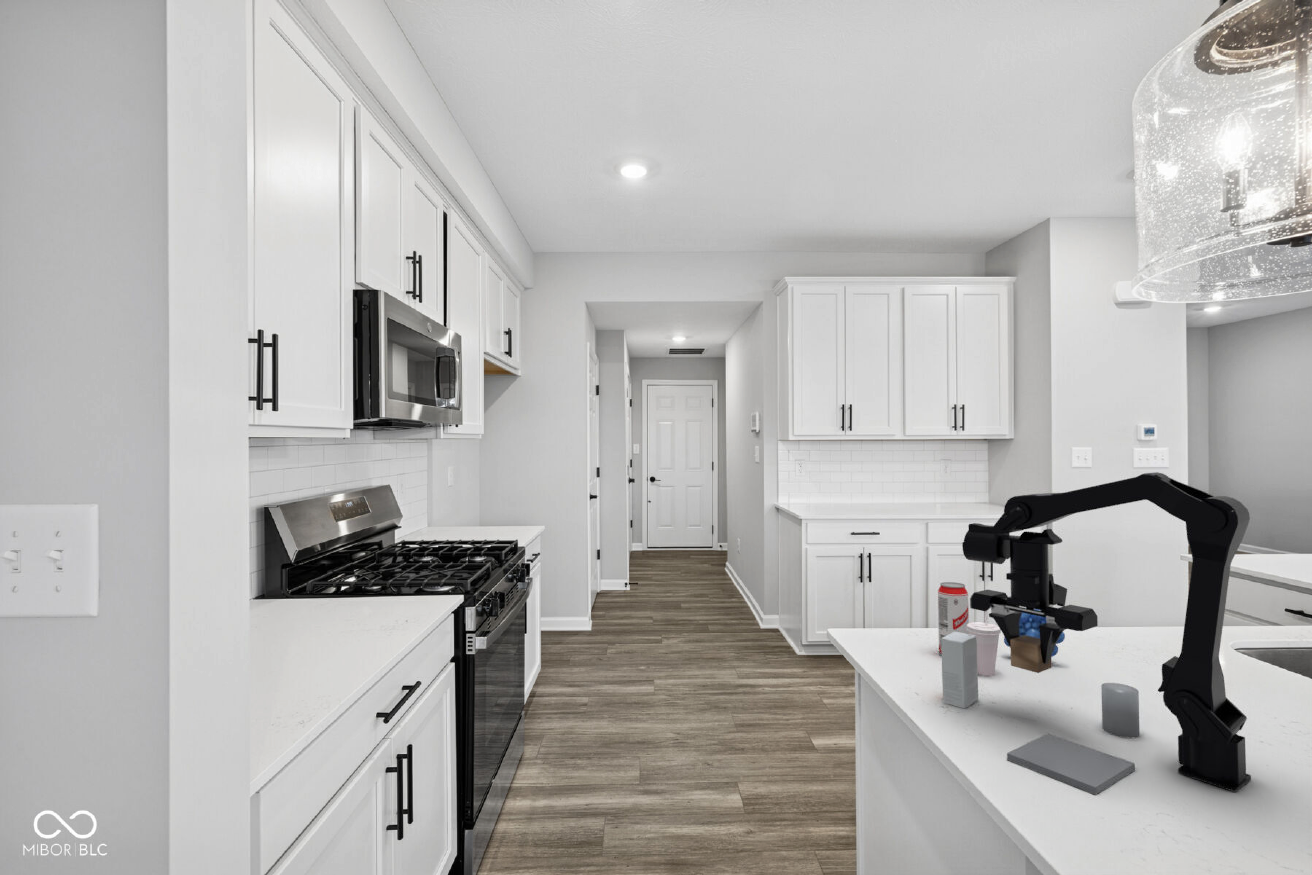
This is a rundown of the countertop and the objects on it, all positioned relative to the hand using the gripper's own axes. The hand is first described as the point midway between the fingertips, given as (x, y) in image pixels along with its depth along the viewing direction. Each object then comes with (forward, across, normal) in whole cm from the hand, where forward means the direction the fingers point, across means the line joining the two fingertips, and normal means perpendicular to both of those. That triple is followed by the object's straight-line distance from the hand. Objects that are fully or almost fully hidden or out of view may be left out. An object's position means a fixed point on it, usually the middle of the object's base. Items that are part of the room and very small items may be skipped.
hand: (1031, 659), depth 112 cm
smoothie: (+11, +18, -16) cm, 26 cm away
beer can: (+11, +28, -21) cm, 37 cm away
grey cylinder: (+11, -10, -8) cm, 17 cm away
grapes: (+11, +16, -32) cm, 37 cm away
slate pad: (+10, -11, +11) cm, 19 cm away
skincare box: (+11, +12, +2) cm, 16 cm away
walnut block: (+1, 0, 0) cm, 1 cm away
